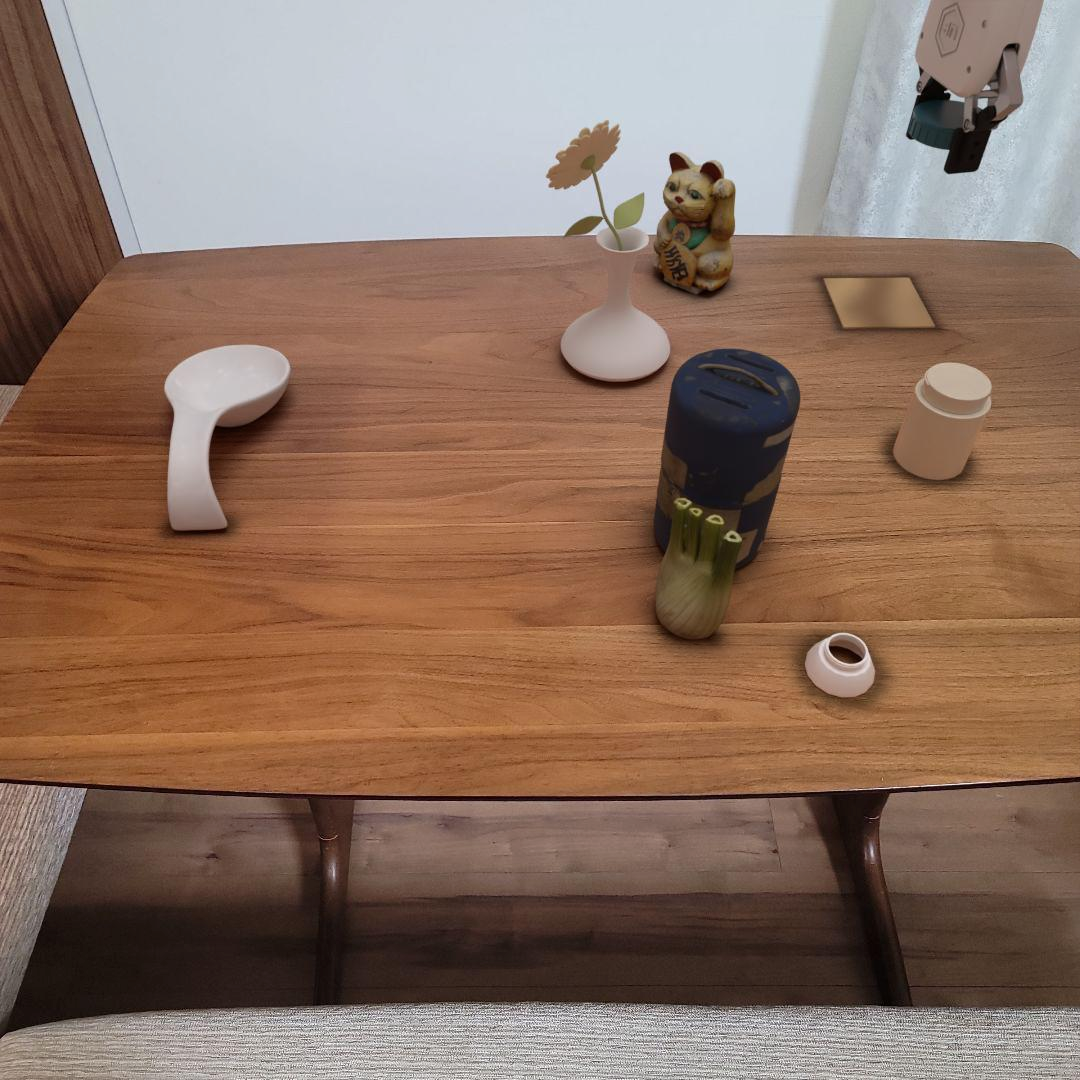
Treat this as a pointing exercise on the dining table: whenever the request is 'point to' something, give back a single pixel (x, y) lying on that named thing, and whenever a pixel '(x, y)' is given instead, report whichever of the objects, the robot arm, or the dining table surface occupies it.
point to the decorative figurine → (696, 226)
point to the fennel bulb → (695, 573)
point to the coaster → (877, 303)
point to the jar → (943, 421)
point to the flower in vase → (609, 274)
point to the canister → (727, 442)
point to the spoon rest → (214, 420)
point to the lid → (937, 122)
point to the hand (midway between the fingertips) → (940, 152)
